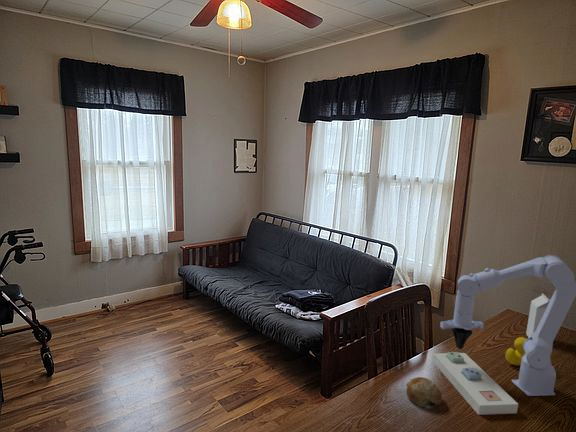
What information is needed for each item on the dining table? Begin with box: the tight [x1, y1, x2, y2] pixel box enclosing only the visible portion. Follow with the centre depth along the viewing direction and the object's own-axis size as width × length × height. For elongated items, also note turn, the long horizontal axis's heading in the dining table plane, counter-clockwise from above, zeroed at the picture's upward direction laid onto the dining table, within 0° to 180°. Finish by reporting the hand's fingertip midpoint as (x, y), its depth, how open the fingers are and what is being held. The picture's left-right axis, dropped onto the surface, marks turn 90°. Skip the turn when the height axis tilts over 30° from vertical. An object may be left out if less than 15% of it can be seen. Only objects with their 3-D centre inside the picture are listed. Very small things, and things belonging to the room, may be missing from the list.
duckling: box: [504, 336, 528, 366], centre depth 135 cm, size 11×5×10 cm, turn 108°
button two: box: [446, 351, 464, 363], centre depth 132 cm, size 4×4×3 cm
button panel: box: [432, 352, 519, 416], centre depth 123 cm, size 12×28×3 cm, turn 6°
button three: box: [462, 368, 481, 381], centre depth 122 cm, size 4×4×3 cm
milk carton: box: [525, 292, 551, 338], centre depth 153 cm, size 7×7×19 cm
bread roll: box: [405, 376, 443, 409], centre depth 115 cm, size 10×10×8 cm
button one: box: [480, 392, 501, 401], centre depth 113 cm, size 4×4×3 cm
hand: (459, 347), depth 129 cm, fingers closed
